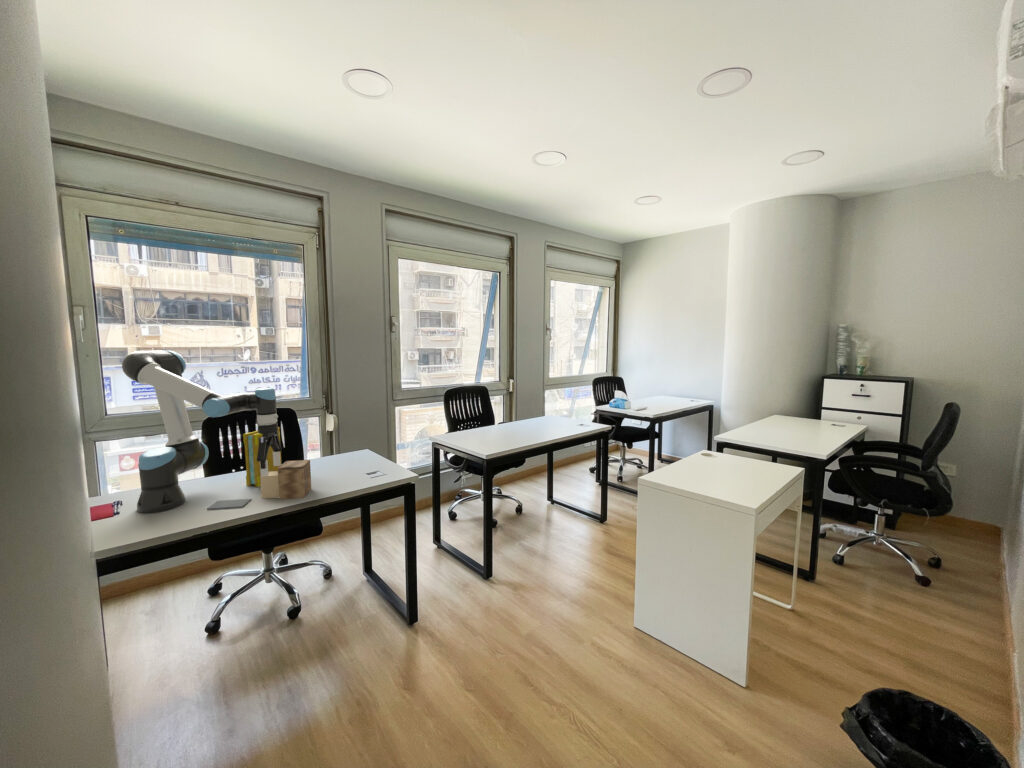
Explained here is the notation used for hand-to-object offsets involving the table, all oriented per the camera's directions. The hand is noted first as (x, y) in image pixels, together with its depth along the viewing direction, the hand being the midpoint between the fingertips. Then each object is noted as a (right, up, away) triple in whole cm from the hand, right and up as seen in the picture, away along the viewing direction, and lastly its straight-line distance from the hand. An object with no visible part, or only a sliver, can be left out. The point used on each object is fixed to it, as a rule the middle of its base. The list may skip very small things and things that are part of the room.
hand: (271, 470), depth 178 cm
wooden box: (+9, -11, +3) cm, 15 cm away
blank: (+2, -11, +2) cm, 12 cm away
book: (-14, -9, +20) cm, 26 cm away
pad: (-12, -12, -9) cm, 20 cm away
